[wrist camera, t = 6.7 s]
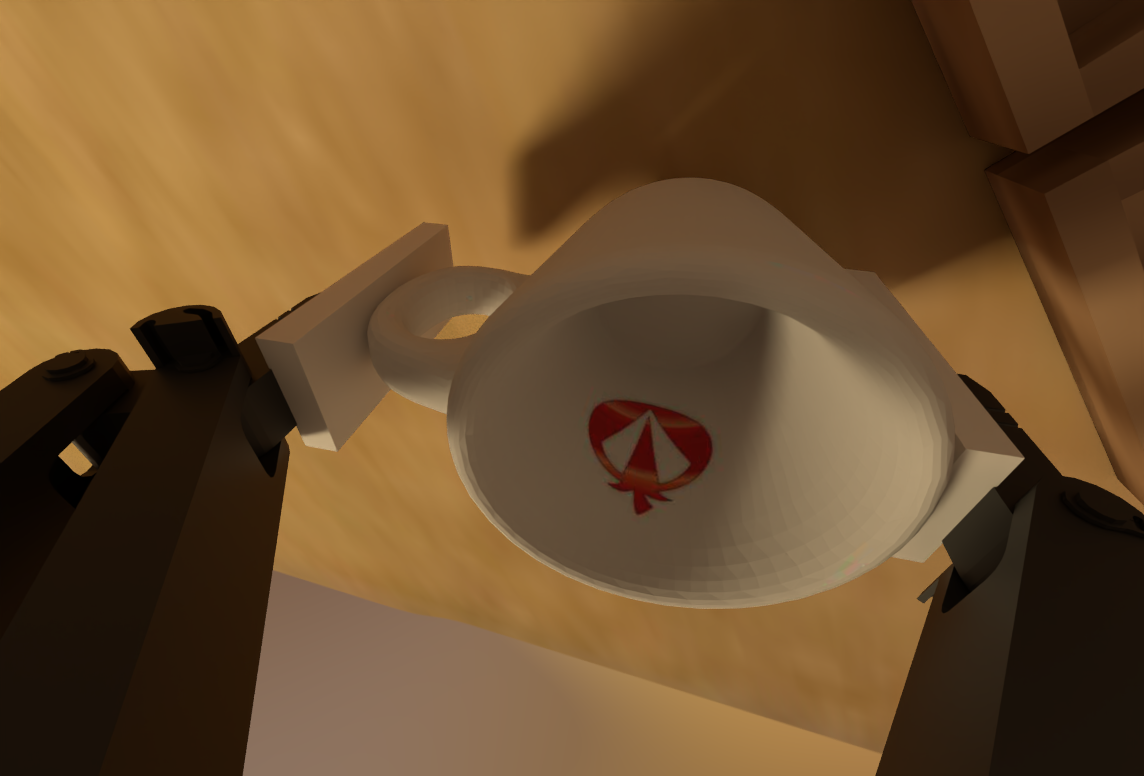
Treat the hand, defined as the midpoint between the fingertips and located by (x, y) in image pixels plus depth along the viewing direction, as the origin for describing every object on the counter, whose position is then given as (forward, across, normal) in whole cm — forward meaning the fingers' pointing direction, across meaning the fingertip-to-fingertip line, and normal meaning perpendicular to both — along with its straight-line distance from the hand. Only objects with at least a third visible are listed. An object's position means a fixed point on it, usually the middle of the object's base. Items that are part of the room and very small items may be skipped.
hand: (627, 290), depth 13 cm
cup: (+1, 0, 0) cm, 1 cm away
